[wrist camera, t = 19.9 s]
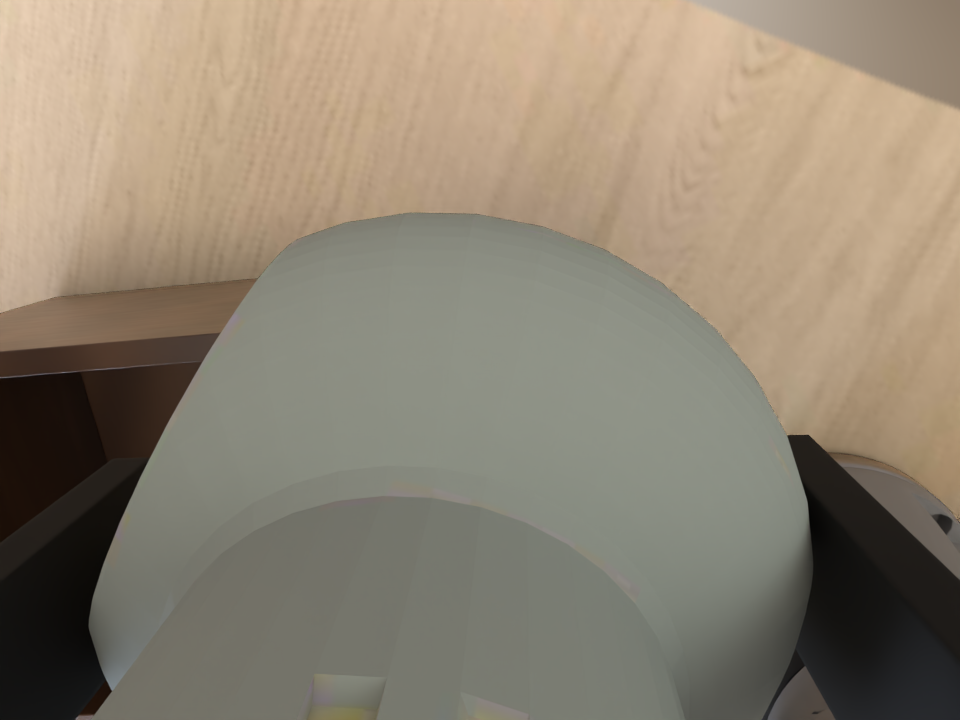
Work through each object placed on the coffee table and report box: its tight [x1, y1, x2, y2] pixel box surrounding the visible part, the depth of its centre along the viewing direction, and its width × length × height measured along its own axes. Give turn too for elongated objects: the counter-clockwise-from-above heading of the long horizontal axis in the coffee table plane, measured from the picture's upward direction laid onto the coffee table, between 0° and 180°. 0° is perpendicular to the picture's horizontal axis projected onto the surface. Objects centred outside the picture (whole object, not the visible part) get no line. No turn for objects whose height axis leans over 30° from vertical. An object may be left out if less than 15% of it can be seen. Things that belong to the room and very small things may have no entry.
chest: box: [0, 278, 258, 720], centre depth 28 cm, size 16×16×11 cm
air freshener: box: [88, 213, 813, 720], centre depth 8 cm, size 11×8×10 cm
